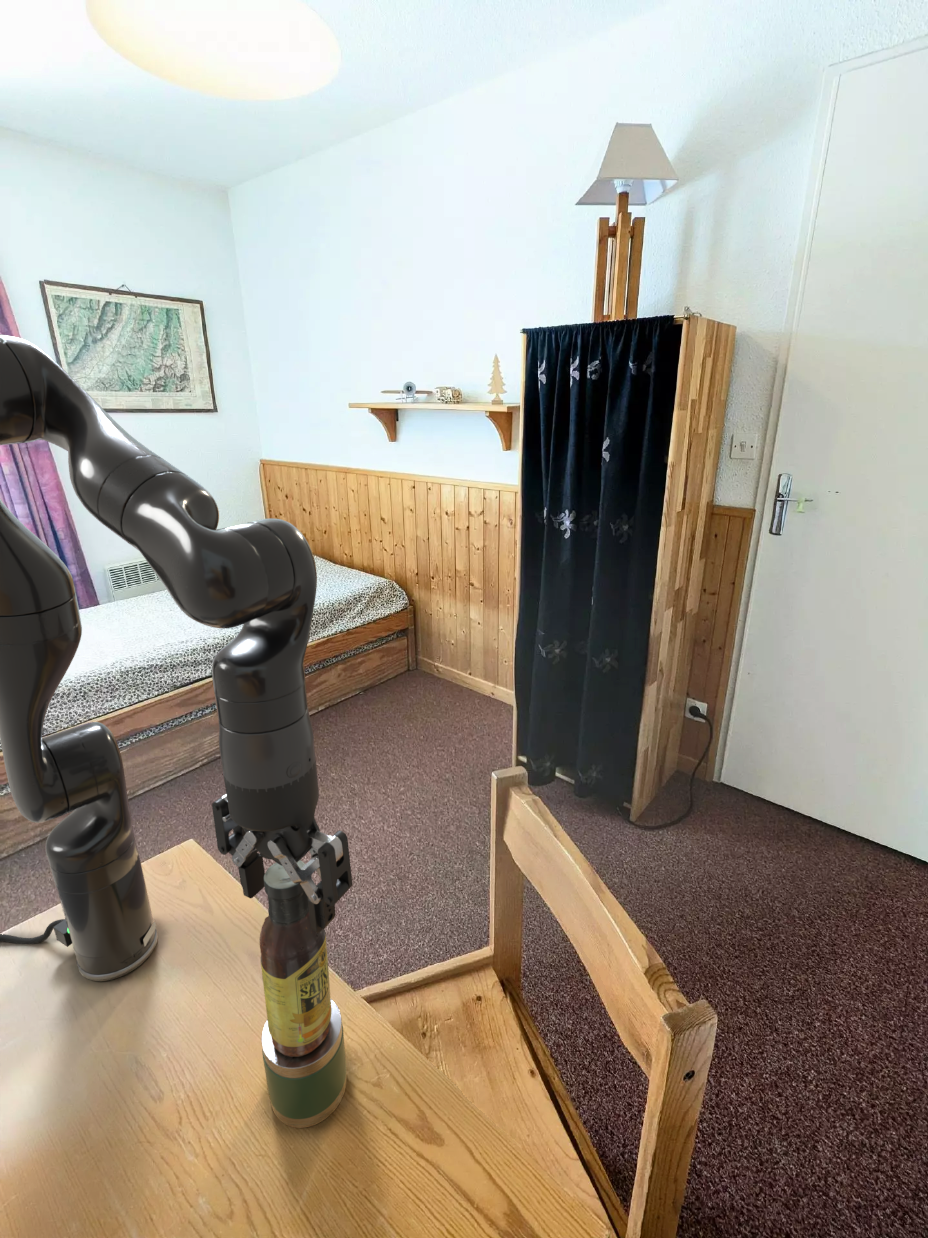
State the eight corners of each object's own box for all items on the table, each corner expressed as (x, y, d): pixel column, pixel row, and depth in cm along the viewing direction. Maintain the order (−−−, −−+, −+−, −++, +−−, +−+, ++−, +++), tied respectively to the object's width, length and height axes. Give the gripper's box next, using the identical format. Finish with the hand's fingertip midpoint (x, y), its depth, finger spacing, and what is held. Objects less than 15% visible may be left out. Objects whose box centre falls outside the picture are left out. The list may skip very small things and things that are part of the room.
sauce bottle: (317, 1067, 59) (299, 909, 52) (258, 1054, 60) (233, 898, 53) (343, 1005, 65) (330, 856, 58) (289, 994, 66) (270, 846, 59)
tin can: (253, 1103, 64) (242, 1044, 61) (306, 1035, 71) (299, 979, 68) (312, 1145, 60) (305, 1085, 57) (362, 1070, 67) (358, 1012, 64)
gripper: (365, 760, 51) (373, 908, 57) (243, 719, 57) (261, 856, 63) (303, 810, 45) (320, 971, 51) (174, 758, 51) (201, 906, 57)
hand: (287, 907), depth 57 cm, fingers open, 8 cm apart
